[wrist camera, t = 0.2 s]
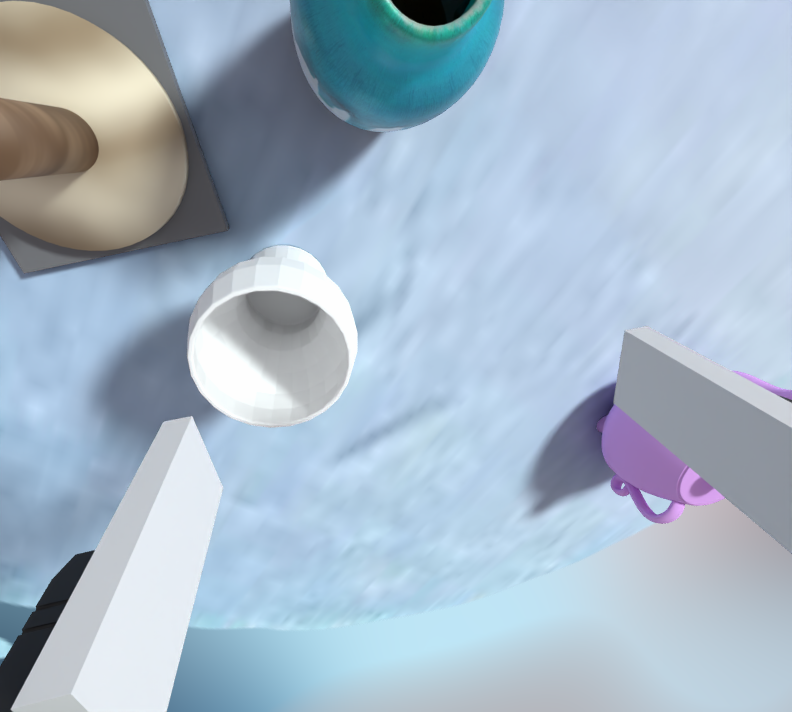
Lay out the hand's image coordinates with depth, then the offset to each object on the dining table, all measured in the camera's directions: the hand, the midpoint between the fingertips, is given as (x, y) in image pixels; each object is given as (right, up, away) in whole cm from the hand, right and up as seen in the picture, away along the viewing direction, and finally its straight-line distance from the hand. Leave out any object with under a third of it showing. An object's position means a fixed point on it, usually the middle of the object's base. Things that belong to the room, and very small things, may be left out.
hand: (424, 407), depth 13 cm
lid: (-24, +17, +17) cm, 34 cm away
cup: (-11, +8, +25) cm, 29 cm away
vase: (-3, +24, +19) cm, 31 cm away
